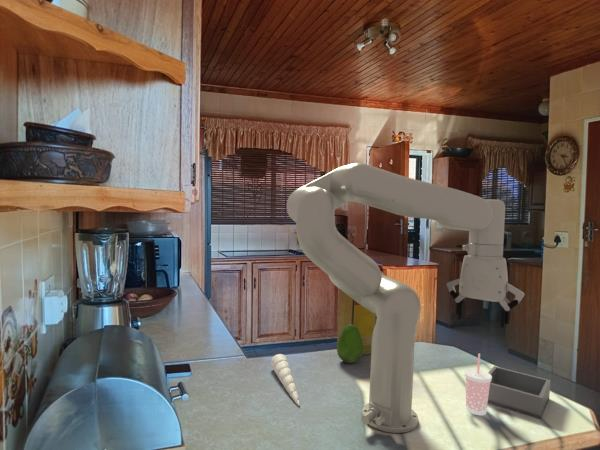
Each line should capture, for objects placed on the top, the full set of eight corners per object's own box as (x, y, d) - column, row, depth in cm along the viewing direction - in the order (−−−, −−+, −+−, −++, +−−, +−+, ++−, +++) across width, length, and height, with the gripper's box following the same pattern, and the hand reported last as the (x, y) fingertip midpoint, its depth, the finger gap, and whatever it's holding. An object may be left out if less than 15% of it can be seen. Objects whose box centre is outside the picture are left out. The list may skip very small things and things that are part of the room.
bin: (540, 419, 96) (542, 398, 96) (479, 400, 105) (480, 381, 104) (549, 398, 107) (550, 380, 107) (493, 383, 115) (494, 365, 115)
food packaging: (376, 354, 135) (379, 279, 134) (349, 356, 132) (352, 279, 131) (360, 341, 148) (363, 272, 146) (335, 342, 145) (338, 272, 144)
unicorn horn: (283, 409, 97) (284, 389, 97) (270, 369, 120) (270, 353, 120) (303, 407, 98) (304, 388, 98) (286, 368, 121) (286, 352, 121)
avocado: (354, 369, 122) (356, 329, 121) (331, 362, 126) (333, 324, 126) (366, 361, 129) (367, 323, 128) (343, 355, 133) (345, 318, 132)
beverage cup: (465, 401, 104) (468, 347, 103) (492, 409, 100) (495, 353, 99) (459, 411, 99) (462, 354, 98) (487, 419, 95) (490, 360, 94)
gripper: (443, 249, 100) (440, 318, 101) (523, 256, 89) (518, 333, 90) (453, 247, 106) (450, 312, 107) (529, 253, 95) (525, 326, 96)
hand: (481, 322), depth 98 cm, fingers open, 9 cm apart
